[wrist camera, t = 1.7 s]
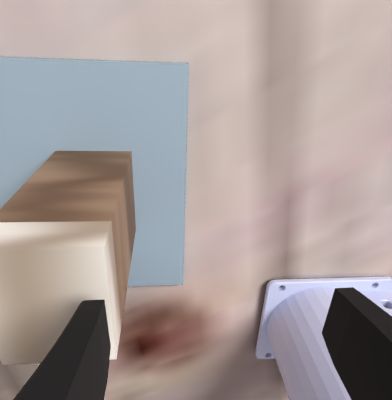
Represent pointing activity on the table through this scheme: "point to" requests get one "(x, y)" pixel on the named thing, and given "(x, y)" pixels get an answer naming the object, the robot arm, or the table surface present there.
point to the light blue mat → (106, 140)
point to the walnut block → (65, 249)
